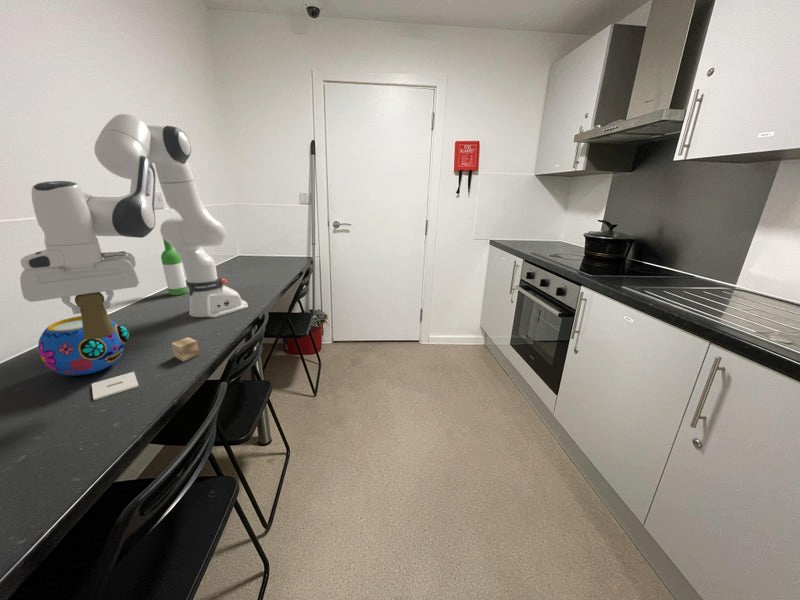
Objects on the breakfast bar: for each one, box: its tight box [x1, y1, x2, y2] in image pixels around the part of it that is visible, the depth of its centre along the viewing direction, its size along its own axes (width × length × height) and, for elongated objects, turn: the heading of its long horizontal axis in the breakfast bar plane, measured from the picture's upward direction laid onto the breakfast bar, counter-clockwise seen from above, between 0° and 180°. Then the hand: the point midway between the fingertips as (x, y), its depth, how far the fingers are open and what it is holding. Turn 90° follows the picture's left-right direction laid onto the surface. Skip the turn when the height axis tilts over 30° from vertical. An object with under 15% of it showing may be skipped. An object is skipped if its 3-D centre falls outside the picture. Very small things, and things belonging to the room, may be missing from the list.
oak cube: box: [171, 336, 201, 362], centre depth 102 cm, size 5×5×5 cm
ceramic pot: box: [37, 315, 130, 376], centre depth 92 cm, size 18×18×15 cm
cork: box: [74, 292, 116, 339], centre depth 80 cm, size 6×6×11 cm
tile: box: [91, 371, 140, 401], centre depth 87 cm, size 9×9×1 cm
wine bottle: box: [160, 238, 188, 297], centre depth 156 cm, size 8×8×30 cm
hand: (93, 310), depth 80 cm, fingers closed on cork, 4 cm apart
